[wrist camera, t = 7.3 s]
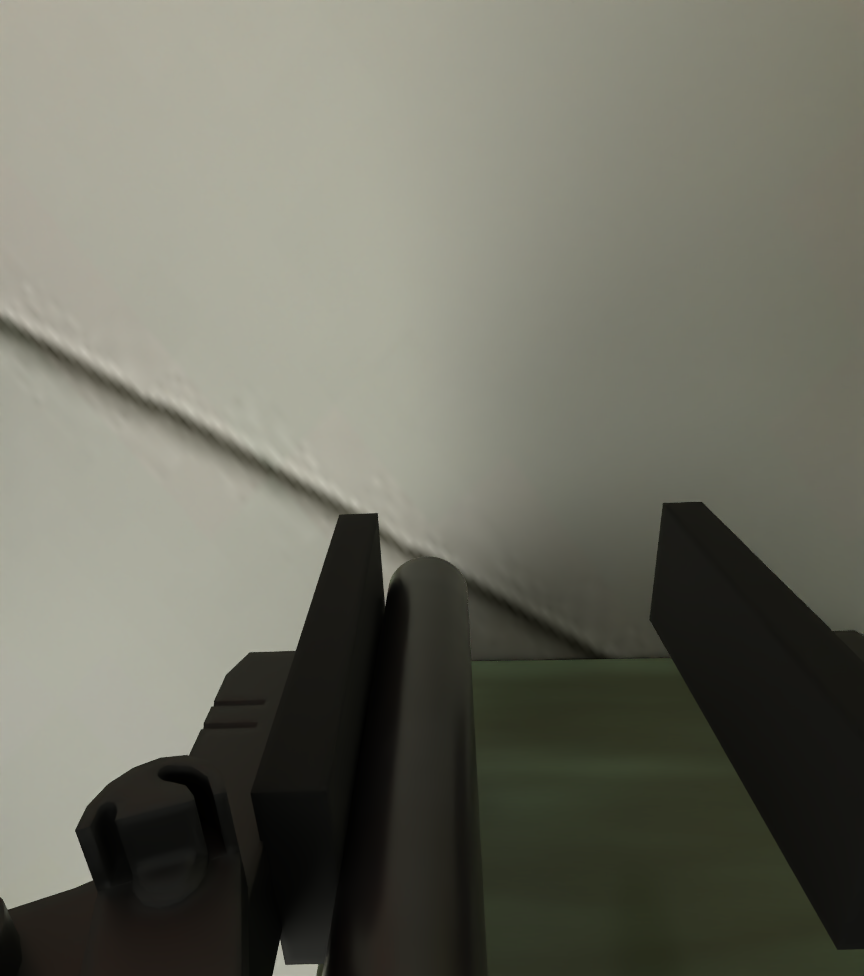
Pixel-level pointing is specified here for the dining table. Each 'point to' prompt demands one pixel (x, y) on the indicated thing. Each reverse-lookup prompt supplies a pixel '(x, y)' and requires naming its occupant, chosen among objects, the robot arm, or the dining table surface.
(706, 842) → the door
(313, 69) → the dining table surface
